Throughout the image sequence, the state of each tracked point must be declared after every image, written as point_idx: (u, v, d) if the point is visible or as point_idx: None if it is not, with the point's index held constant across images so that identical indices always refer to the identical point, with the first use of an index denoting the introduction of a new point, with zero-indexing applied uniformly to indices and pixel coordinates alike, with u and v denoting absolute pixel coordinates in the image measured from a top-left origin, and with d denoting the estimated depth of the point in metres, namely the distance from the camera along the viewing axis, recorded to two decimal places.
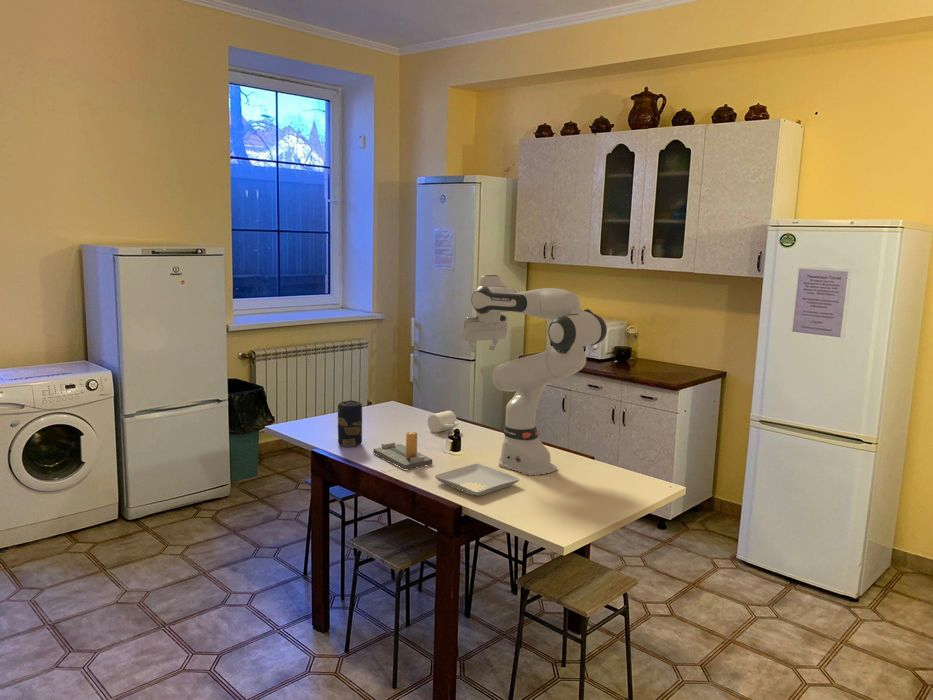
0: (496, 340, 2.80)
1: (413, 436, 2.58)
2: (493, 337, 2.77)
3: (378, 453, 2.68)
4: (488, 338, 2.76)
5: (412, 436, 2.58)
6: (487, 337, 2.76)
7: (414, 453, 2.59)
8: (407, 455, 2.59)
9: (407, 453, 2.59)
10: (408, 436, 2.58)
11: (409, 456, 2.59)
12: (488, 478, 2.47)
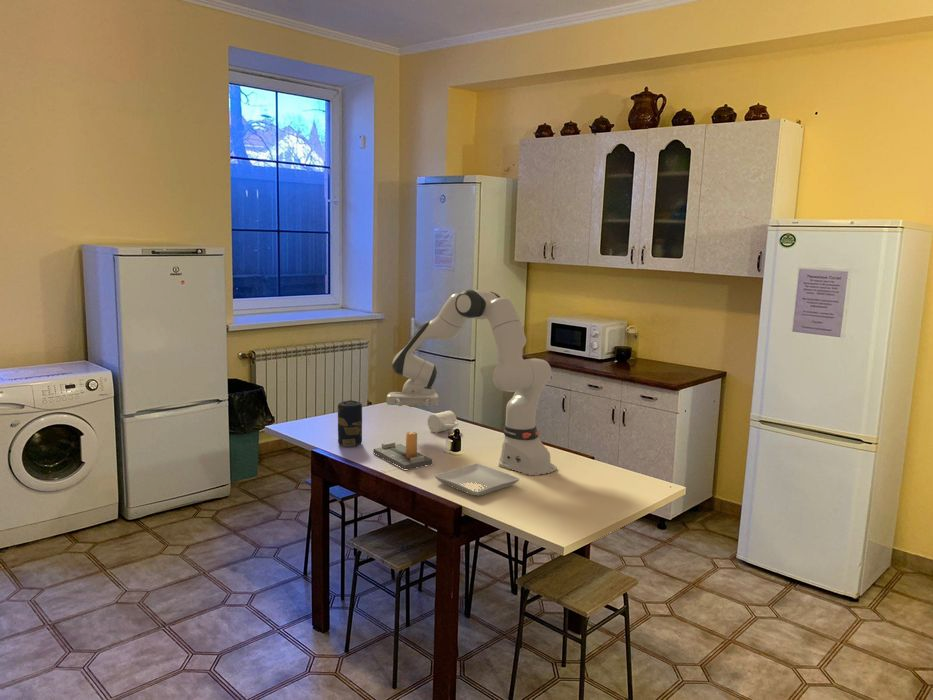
0: (427, 399, 2.74)
1: (413, 436, 2.58)
2: (421, 396, 2.75)
3: (378, 453, 2.68)
4: (415, 396, 2.75)
5: (412, 436, 2.58)
6: (413, 396, 2.75)
7: (414, 453, 2.59)
8: (407, 455, 2.59)
9: (407, 453, 2.59)
10: (408, 436, 2.58)
11: (409, 456, 2.59)
12: (488, 478, 2.47)
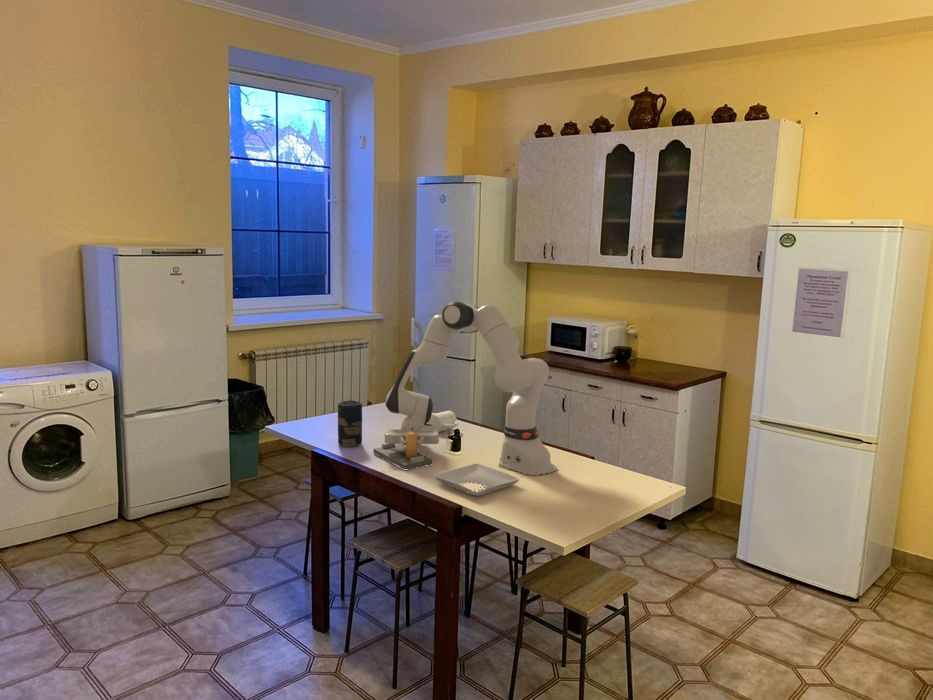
0: (421, 437, 2.63)
1: (413, 436, 2.58)
2: (420, 434, 2.64)
3: (378, 453, 2.68)
4: None
5: (412, 436, 2.58)
6: None
7: (414, 453, 2.59)
8: (407, 455, 2.59)
9: (407, 453, 2.59)
10: (408, 436, 2.58)
11: (409, 456, 2.59)
12: (488, 478, 2.47)
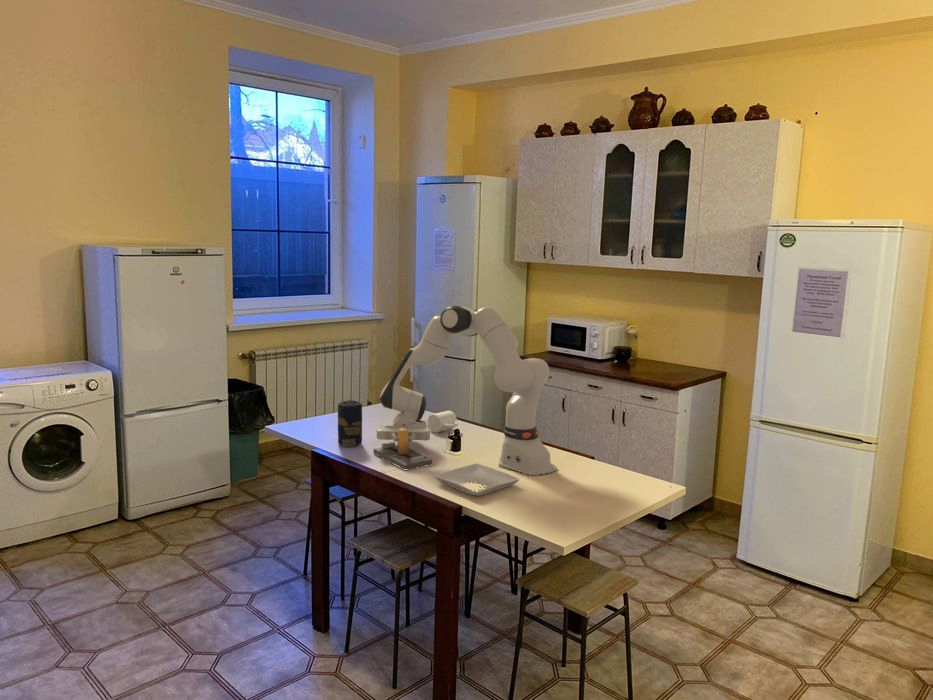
0: (413, 433, 2.68)
1: (405, 432, 2.62)
2: (412, 430, 2.69)
3: (378, 453, 2.68)
4: None
5: (404, 432, 2.62)
6: None
7: (406, 449, 2.63)
8: (399, 451, 2.64)
9: (399, 449, 2.64)
10: (400, 432, 2.62)
11: (401, 452, 2.63)
12: (488, 478, 2.47)
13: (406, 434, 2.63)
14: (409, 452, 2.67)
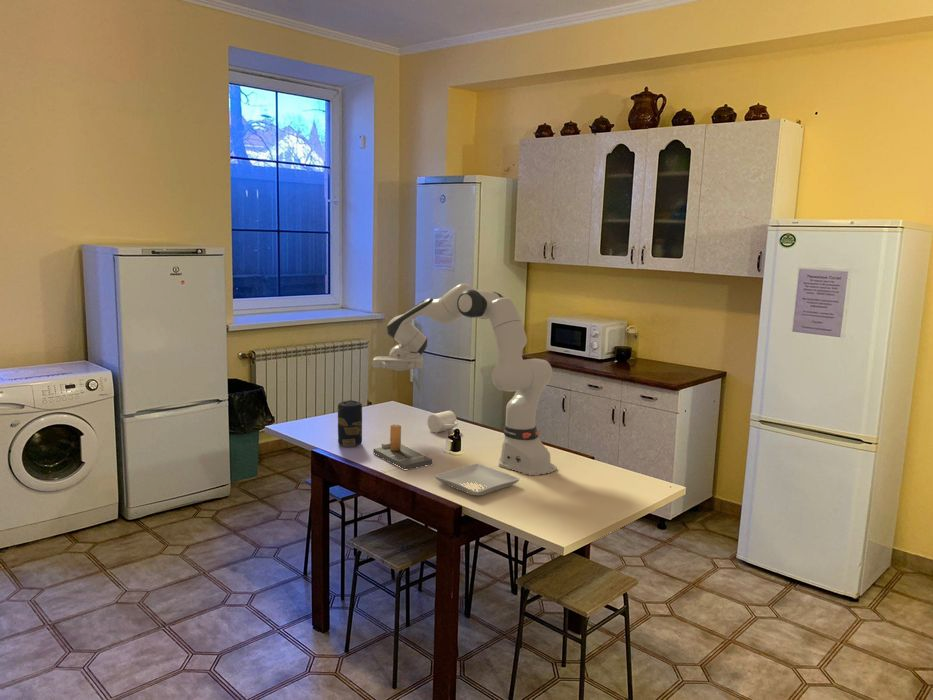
0: (412, 362, 2.80)
1: (397, 429, 2.66)
2: (406, 359, 2.81)
3: (378, 453, 2.68)
4: (400, 359, 2.81)
5: (396, 429, 2.66)
6: (399, 359, 2.82)
7: (398, 445, 2.68)
8: (391, 447, 2.68)
9: (391, 445, 2.68)
10: (392, 429, 2.66)
11: (393, 448, 2.67)
12: (488, 478, 2.47)
13: (398, 430, 2.67)
14: (409, 452, 2.67)
